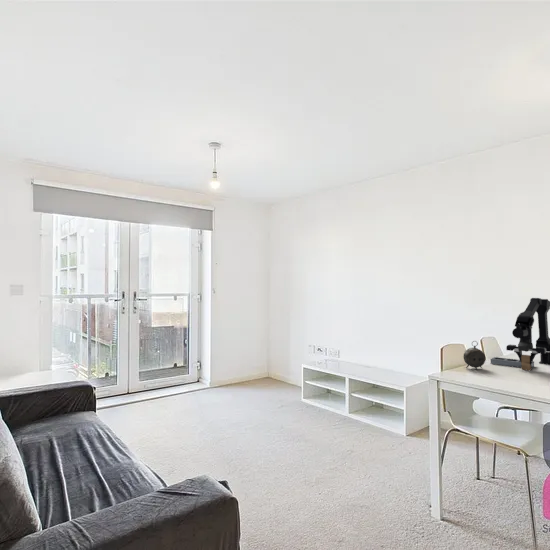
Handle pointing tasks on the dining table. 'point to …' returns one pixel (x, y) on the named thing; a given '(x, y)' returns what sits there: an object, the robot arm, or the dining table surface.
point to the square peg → (525, 362)
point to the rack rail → (508, 362)
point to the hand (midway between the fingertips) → (526, 364)
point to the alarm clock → (474, 357)
